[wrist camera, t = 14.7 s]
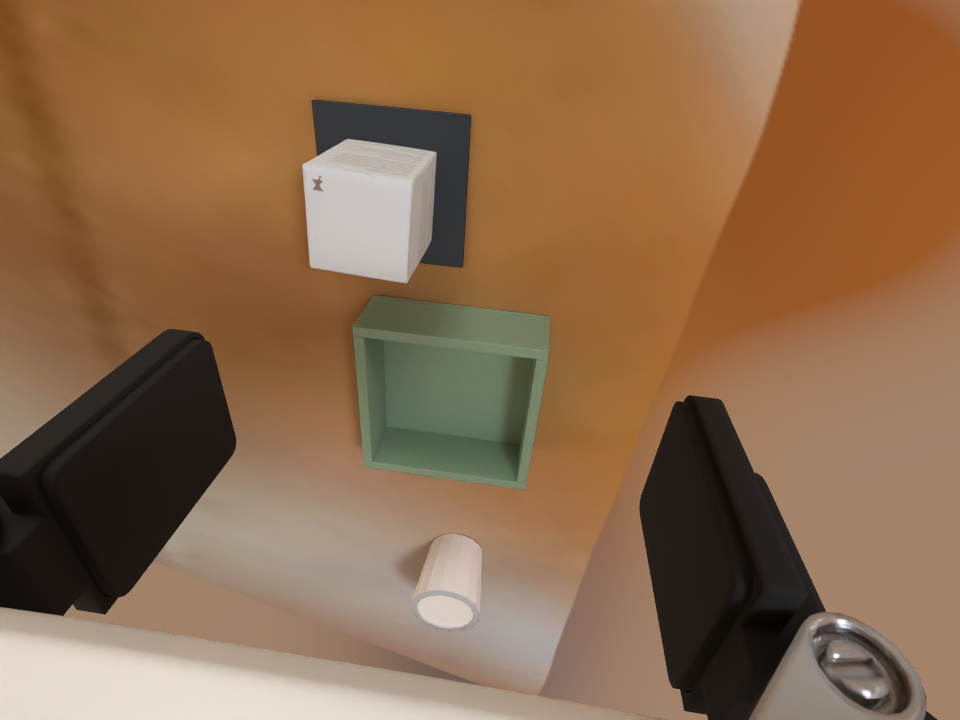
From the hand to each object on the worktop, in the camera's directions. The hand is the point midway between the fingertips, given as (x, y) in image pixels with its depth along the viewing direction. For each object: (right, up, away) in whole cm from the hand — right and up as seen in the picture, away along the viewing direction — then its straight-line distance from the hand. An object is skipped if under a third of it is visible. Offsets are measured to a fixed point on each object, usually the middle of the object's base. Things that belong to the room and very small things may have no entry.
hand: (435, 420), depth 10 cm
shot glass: (-2, -19, +45) cm, 49 cm away
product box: (-5, +13, +24) cm, 27 cm away
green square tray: (-1, 0, +32) cm, 32 cm away
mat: (-5, +13, +24) cm, 28 cm away
